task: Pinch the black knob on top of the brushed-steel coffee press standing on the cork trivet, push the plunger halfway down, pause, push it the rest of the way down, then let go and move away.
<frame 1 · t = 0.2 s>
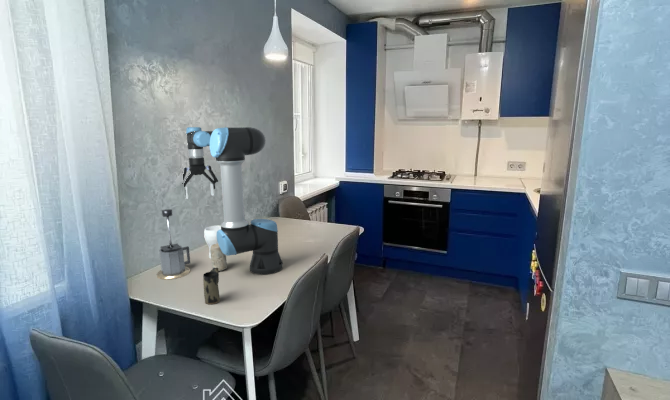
hand: (199, 197, 195), 28 cm above the table, fingers open, 13 cm apart
cup: (217, 256, 187), on the table
press: (173, 273, 166), on the table
mug: (214, 300, 140), on the table
carving: (219, 270, 170), on the table
plunger: (169, 231, 162), point 20 cm above the table, slide at 0.0 cm
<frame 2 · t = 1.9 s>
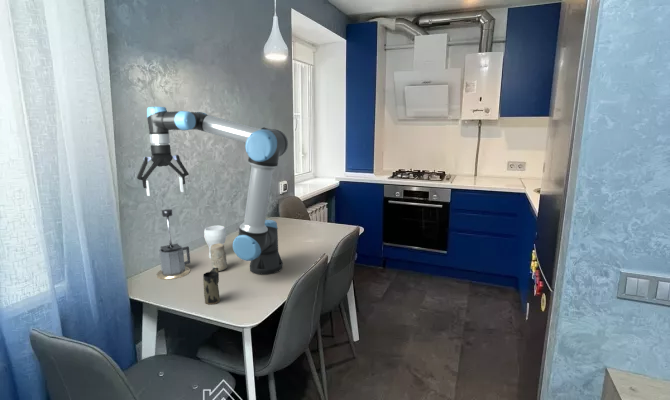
hand: (165, 193, 159), 37 cm above the table, fingers open, 13 cm apart
nothing on the table moved.
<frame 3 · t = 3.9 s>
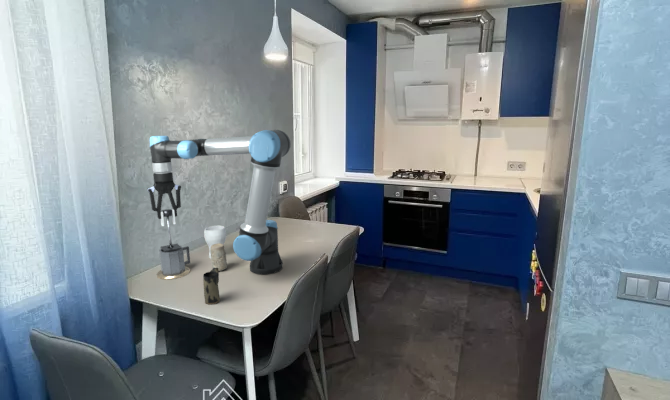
hand: (168, 224, 161), 23 cm above the table, fingers closed on plunger, 4 cm apart
plunger: (169, 231, 162), point 20 cm above the table, slide at 0.0 cm, touching gripper
everything else where it was.
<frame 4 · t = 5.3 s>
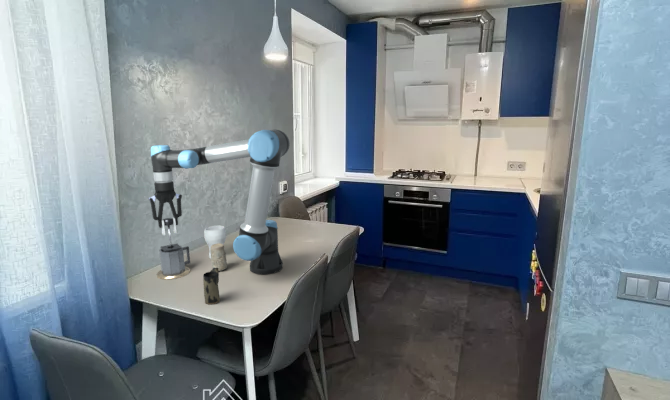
hand: (169, 233, 162), 19 cm above the table, fingers closed on plunger, 4 cm apart
plunger: (170, 239, 163), point 16 cm above the table, slide at 4.0 cm, touching gripper
everything else where it was.
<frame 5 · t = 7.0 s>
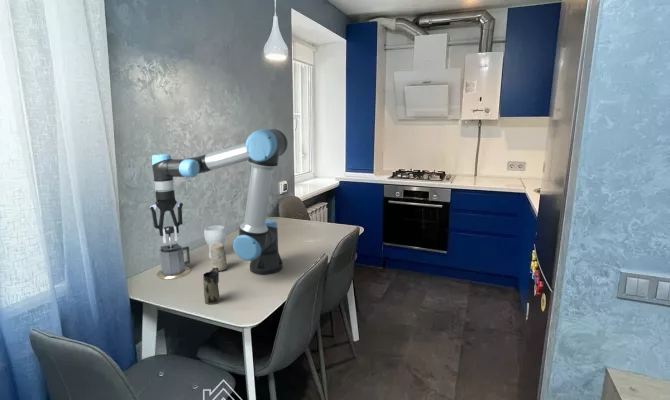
hand: (170, 241, 163), 15 cm above the table, fingers closed on plunger, 4 cm apart
plunger: (170, 247, 164), point 12 cm above the table, slide at 7.8 cm, touching gripper
everything else where it was.
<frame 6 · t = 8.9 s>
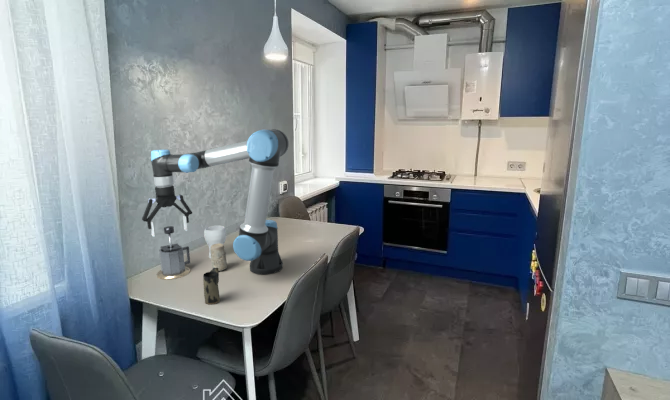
hand: (169, 233, 162), 19 cm above the table, fingers open, 13 cm apart
plunger: (170, 247, 164), point 12 cm above the table, slide at 7.8 cm
everything else where it was.
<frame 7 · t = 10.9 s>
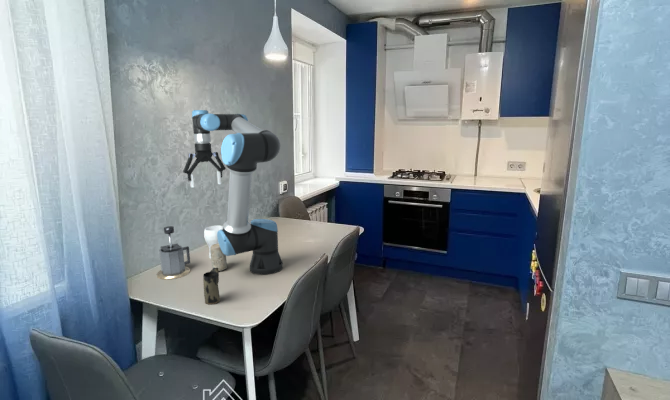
hand: (206, 185, 182), 36 cm above the table, fingers open, 13 cm apart
nothing on the table moved.
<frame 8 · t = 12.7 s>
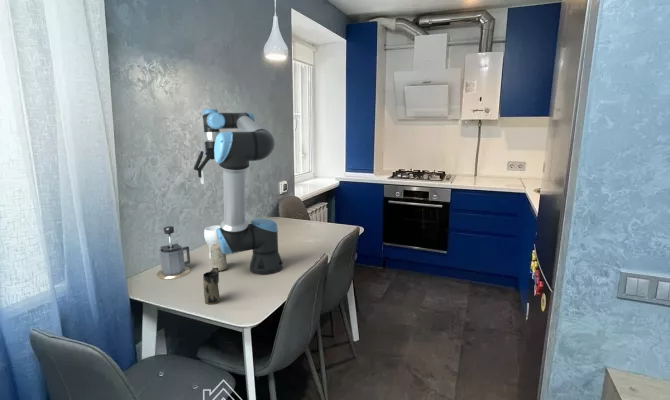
hand: (215, 182, 188), 37 cm above the table, fingers open, 13 cm apart
nothing on the table moved.
at the end: plunger slide at 7.8 cm; the gripper is holding nothing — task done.
